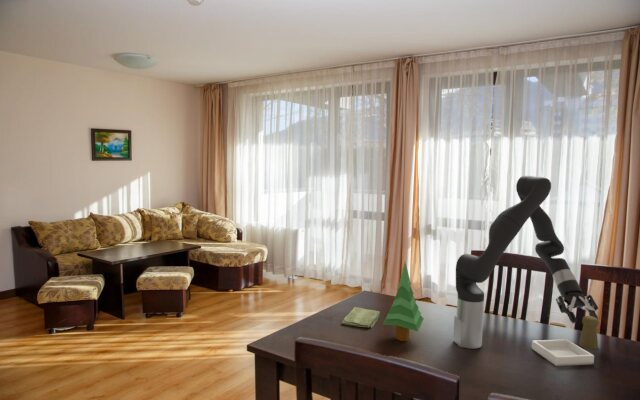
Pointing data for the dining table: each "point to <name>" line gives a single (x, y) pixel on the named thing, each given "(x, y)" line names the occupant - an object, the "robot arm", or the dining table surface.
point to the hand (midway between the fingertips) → (585, 322)
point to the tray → (562, 352)
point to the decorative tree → (404, 309)
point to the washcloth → (361, 318)
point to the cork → (589, 333)
